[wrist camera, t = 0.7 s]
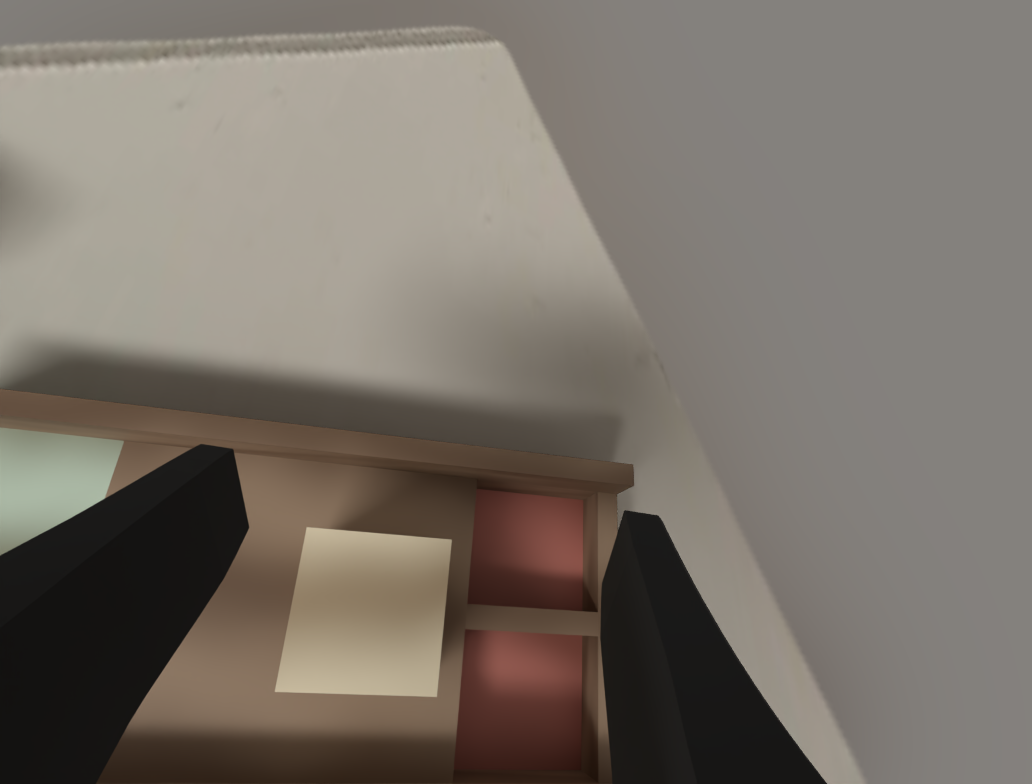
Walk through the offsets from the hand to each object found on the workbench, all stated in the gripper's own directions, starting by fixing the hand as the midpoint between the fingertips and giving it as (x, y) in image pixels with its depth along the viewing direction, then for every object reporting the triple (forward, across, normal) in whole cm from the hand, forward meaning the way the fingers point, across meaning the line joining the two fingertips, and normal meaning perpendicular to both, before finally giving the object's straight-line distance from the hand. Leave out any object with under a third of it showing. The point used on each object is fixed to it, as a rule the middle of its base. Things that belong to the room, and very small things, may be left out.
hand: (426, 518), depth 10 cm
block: (+7, +4, +13) cm, 15 cm away
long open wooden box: (+7, +8, +15) cm, 18 cm away
